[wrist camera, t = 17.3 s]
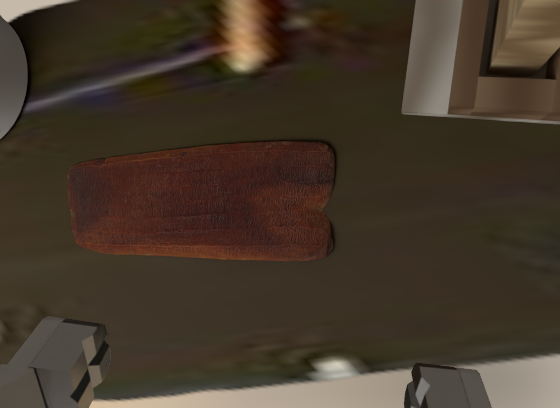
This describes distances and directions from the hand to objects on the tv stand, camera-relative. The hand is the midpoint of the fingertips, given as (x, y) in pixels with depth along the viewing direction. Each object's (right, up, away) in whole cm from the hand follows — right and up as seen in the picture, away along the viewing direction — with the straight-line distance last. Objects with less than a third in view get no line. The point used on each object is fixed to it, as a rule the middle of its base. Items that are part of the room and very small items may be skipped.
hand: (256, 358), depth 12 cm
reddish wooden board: (-7, +4, +29) cm, 30 cm away
